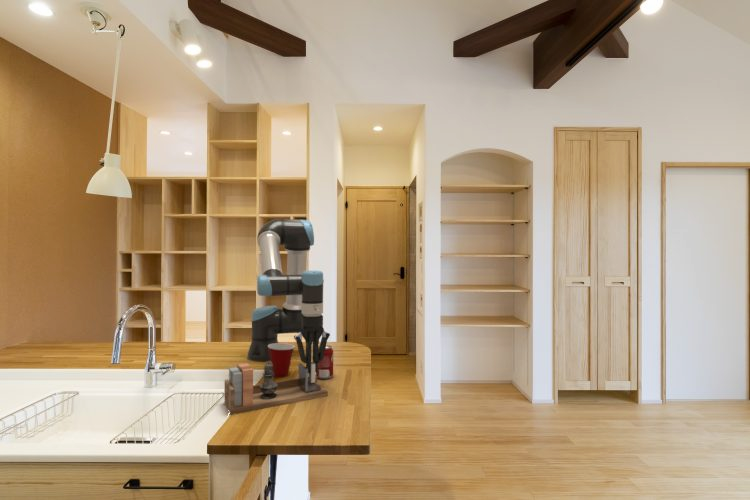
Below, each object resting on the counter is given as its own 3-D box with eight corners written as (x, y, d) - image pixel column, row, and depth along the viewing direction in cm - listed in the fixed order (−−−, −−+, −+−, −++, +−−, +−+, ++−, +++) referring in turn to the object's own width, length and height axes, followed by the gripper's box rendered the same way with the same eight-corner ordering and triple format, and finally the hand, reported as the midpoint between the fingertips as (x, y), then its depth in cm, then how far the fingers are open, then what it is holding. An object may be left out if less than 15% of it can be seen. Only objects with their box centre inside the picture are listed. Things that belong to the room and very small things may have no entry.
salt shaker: (271, 400, 128) (271, 363, 128) (255, 398, 130) (256, 361, 130) (281, 394, 134) (281, 358, 134) (266, 392, 136) (266, 357, 136)
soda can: (330, 380, 153) (330, 349, 153) (313, 379, 154) (313, 348, 154) (335, 375, 160) (335, 345, 160) (319, 373, 161) (319, 344, 161)
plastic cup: (298, 376, 157) (298, 346, 157) (270, 380, 152) (270, 349, 152) (291, 369, 167) (291, 340, 167) (265, 372, 162) (265, 343, 162)
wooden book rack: (224, 402, 130) (224, 364, 130) (315, 386, 147) (315, 352, 147) (230, 414, 121) (231, 373, 121) (327, 395, 137) (328, 359, 137)
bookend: (298, 386, 141) (298, 363, 141) (313, 383, 144) (313, 361, 144) (305, 392, 135) (305, 368, 135) (321, 389, 138) (321, 366, 138)
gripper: (298, 317, 133) (297, 388, 133) (333, 314, 140) (333, 381, 140) (290, 314, 140) (290, 381, 140) (325, 311, 146) (324, 375, 147)
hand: (311, 381), depth 140 cm, fingers closed
